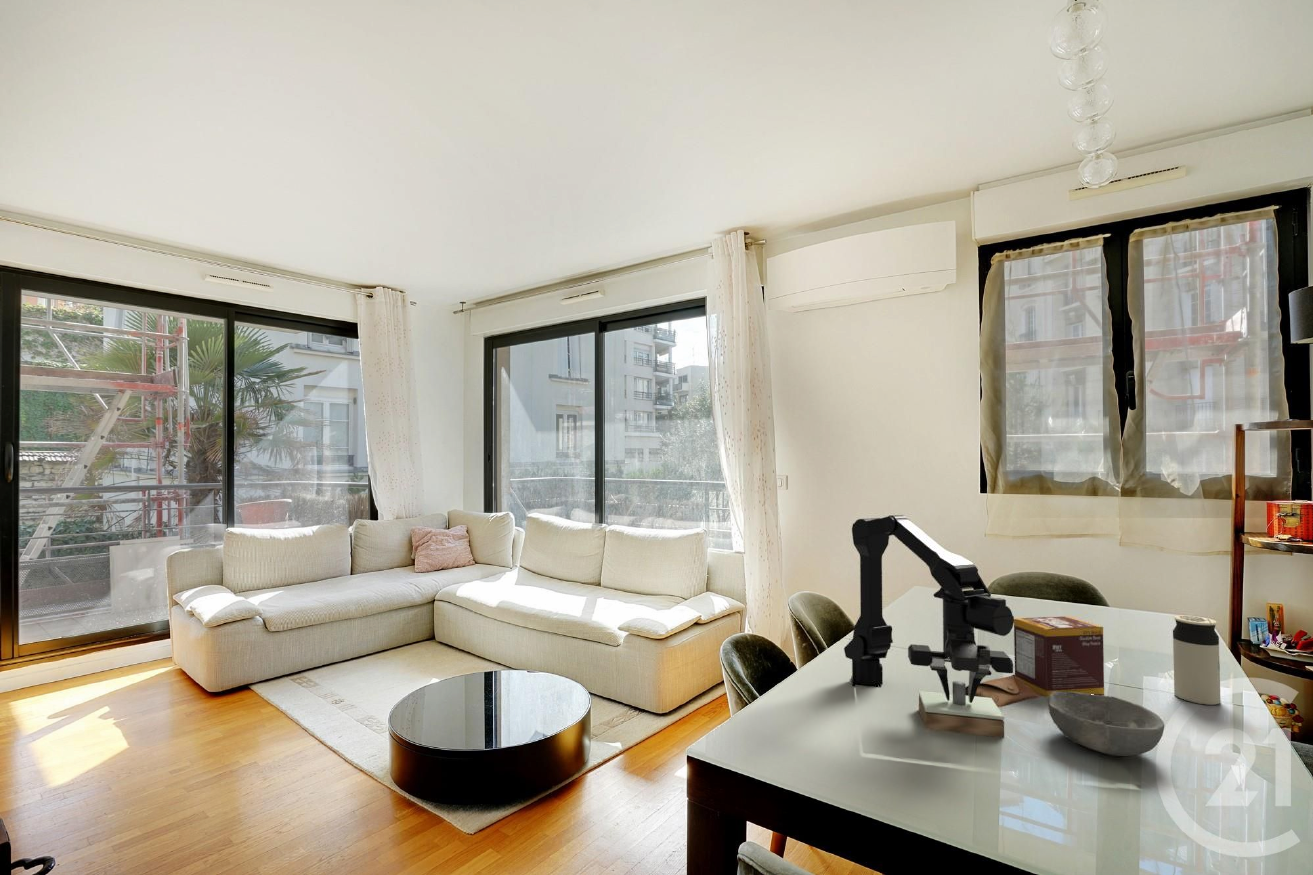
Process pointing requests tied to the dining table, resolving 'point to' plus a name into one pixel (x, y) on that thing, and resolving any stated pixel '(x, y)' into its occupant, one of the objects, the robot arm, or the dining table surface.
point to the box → (961, 723)
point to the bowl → (1105, 723)
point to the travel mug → (1196, 660)
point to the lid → (960, 703)
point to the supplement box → (1059, 655)
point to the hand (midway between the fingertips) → (959, 701)
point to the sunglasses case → (1005, 691)
